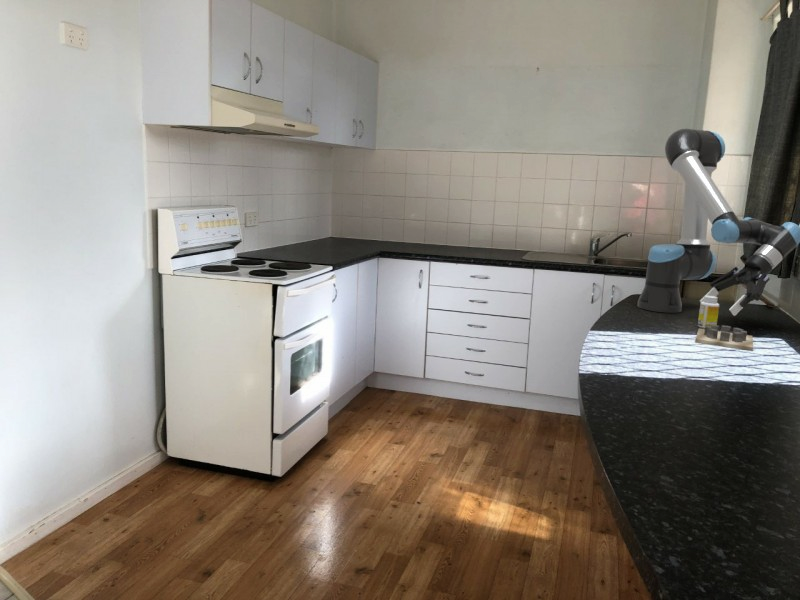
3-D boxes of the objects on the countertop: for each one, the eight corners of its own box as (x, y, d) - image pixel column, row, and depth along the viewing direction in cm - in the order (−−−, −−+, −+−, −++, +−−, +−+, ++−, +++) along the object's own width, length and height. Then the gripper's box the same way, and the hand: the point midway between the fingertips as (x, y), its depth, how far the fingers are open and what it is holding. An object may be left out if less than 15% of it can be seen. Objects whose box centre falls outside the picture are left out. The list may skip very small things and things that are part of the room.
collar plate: (695, 342, 194) (696, 330, 194) (698, 331, 209) (699, 320, 209) (752, 350, 188) (754, 338, 187) (751, 339, 203) (753, 327, 202)
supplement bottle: (719, 328, 216) (723, 297, 214) (710, 330, 212) (715, 298, 210) (702, 325, 220) (706, 294, 218) (694, 326, 216) (698, 295, 214)
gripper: (799, 276, 204) (751, 324, 203) (740, 264, 228) (697, 308, 227) (787, 258, 202) (739, 307, 201) (729, 249, 225) (685, 293, 224)
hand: (716, 308), depth 214 cm, fingers open, 13 cm apart
